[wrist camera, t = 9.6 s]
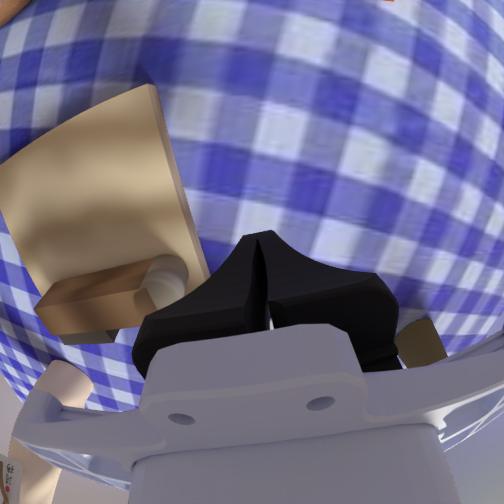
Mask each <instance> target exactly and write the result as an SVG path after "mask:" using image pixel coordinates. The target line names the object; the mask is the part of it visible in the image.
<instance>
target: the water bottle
mask: <svg viewBox="0 0 504 504" xmlns="http://www.w3.org/2000/svg"><path fill="white" fill-rule="evenodd" d="M33 389H36V390H41V391H46V392H49V393H51V394H52V395H54V396H55V397H56V398H57V399H58V400H59V401H60V402H61V403H62V405H65V406H71V407H77V408H83V409H84V407H85V401H86V400H87V398H88V397H89V395H90V393H91V391H92V390H93V384H92V381H91V380H90V378H89V377H88V376H87V375H86V374H85V373H84V372H82V371H81V370H80V369H78V368H77V367H75V366H73V365H71V364H69V363H67V362H65V361H61V360H53V361H52V362H51V363H50V365H49V366H48V368H47V369H46V370H45V371H44V373H43V374H42V375H41V376H40V377H39V379H38V380H37V382H36V383H35V385H34V387H33ZM22 408H23V407H22ZM21 410H22V409H21ZM20 412H21V411H20ZM19 415H20V413H19ZM19 415H18V417H19ZM18 417H17V419H18ZM17 419H16V422H17ZM16 422H15V424H16ZM15 424H14V426H15ZM13 429H14V428H13ZM61 470H62V469H60V468H58V467H55V466H53V465H51V464H50V463H48V462H47V461H45V460H44V459H42V458H41V457H39V456H38V455H36V454H35V453H33V452H32V451H31V450H29V449H28V448H26V447H25V446H24V445H22V444H21V443H20V442H18V441H17V440H16V439H15V438H13V437H12V436H11V441H10V446H9V452H8V457H5V456H4V455H2V454H0V504H51V503H52V499H53V495H54V492H55V488H56V485H57V481H58V478H59V475H60V472H61ZM3 499H4V500H3Z"/></svg>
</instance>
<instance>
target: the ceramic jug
mask: <svg viewBox="0 0 504 504" xmlns="http://www.w3.org/2000/svg"><path fill="white" fill-rule="evenodd" d="M30 1H31V0H0V27H2V26H3V25H5V24H6V23H7V22H9V21H10V20H11V19H12V18H14V17H15V16H16V15H17V14H18V13H19V12H20V11H21V10H22V9H23V8H24V7H25V6H26V5H27V4H28V3H29V2H30Z"/></svg>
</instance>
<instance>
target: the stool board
mask: <svg viewBox="0 0 504 504" xmlns="http://www.w3.org/2000/svg"><path fill="white" fill-rule="evenodd" d="M0 209H1V212H2V215H3V217H4V220H5V222H6V225H7V227H8V230H9V232H10V234H11V237H12V239H13V241H14V244H15V246H16V248H17V250H18V252H19V254H20V256H21V259H22V261H23V263H24V265H25V267H26V269H27V270H28V272H29V274H30V276H31V278H32V280H33V282H34V283H35V285H36V287H37V289H38V291H39V292H40V294H41V296H42V297H43V296H44V295H45V293H46V292H47V291H48V290H49V288H50V287H51V286H52V285H53V284H54V282H58V281H62V280H66V279H70V278H74V277H78V276H82V275H86V274H90V273H94V272H98V271H102V270H106V269H110V268H114V267H118V266H122V265H126V264H130V263H134V262H138V261H142V260H146V259H151V258H155V257H156V256H158V255H162V254H169V255H173V256H176V257H178V258H179V259H181V260H182V261H183V262H184V263H185V265H186V266H187V268H188V271H189V278H188V282H187V286H186V289H185V293H184V296H186V295H187V294H189V293H190V292H192V291H193V290H194V289H196V288H197V287H198V286H200V285H201V284H202V283H204V282H205V281H206V280H207V279H208V278H209V277H210V276H211V274H210V271H209V269H208V266H207V262H206V259H205V256H204V253H203V250H202V247H201V244H200V241H199V238H198V235H197V232H196V228H195V225H194V222H193V219H192V216H191V212H190V209H189V206H188V202H187V199H186V196H185V192H184V189H183V185H182V182H181V179H180V175H179V172H178V168H177V164H176V161H175V157H174V154H173V150H172V146H171V143H170V139H169V135H168V131H167V127H166V124H165V120H164V116H163V112H162V108H161V104H160V100H159V95H158V91H157V87H156V86H155V85H151V84H145V85H142V86H139V87H137V88H134V89H132V90H129V91H127V92H125V93H122V94H120V95H118V96H115V97H113V98H111V99H109V100H106V101H104V102H102V103H100V104H98V105H96V106H94V107H92V108H90V109H88V110H86V111H84V112H82V113H80V114H78V115H76V116H74V117H73V118H71V119H69V120H67V121H65V122H64V123H62V124H60V125H58V126H57V127H55V128H53V129H52V130H50V131H49V132H47V133H45V134H44V135H42V136H41V137H39V138H37V139H36V140H34V141H33V142H31V143H30V144H28V145H27V146H26V147H24V148H23V149H21V150H20V151H19V152H17V153H16V154H14V155H13V156H12V157H10V158H9V159H8V160H6V161H5V162H4V163H3V164H1V165H0ZM184 296H183V297H184ZM119 330H120V329H113V330H105V331H95V332H85V333H74V334H63V335H58V336H59V338H60V339H61V340H62V342H63V343H64V345H79V344H102V343H114V341H115V339H116V336H117V334H118V332H119Z"/></svg>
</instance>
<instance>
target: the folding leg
mask: <svg viewBox="0 0 504 504" xmlns="http://www.w3.org/2000/svg"><path fill="white" fill-rule="evenodd" d="M188 278H189V271H188V268H187V266H186V265H185V263H184V262H183V261H182V260H181V259H179V258H178V257H176V256H173V255H169V254H162V255H158V256H156V257H155V258H151V259H146V260H142V261H138V262H134V263H130V264H126V265H122V266H118V267H114V268H110V269H106V270H102V271H98V272H94V273H90V274H86V275H82V276H78V277H74V278H70V279H66V280H62V281H58V282H54V284H53V285H52V286H51V287H50V288H49V290H48V291H47V292H46V293H45V295H44V296H43V297H42V298H41V300H40V301H39V302H38V303H37V305H36V306H35V307H34V311H35V312H36V314H37V315H38V317H39V318H40V320H41V321H42V323H43V324H44V325H45V327H46V328H47V330H48V331H49V332H50V334H51V335H63V334H74V333H85V332H95V331H105V330H113V329H122V328H130V327H138V326H141V325H142V322H143V320H144V317H145V316H146V315H148V314H151V313H153V312H155V311H157V310H160V309H162V308H164V307H166V306H168V305H170V304H172V303H174V302H176V301H177V300H179V299H181V298H182V297H183V296H184V293H185V289H186V286H187V282H188Z"/></svg>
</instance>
